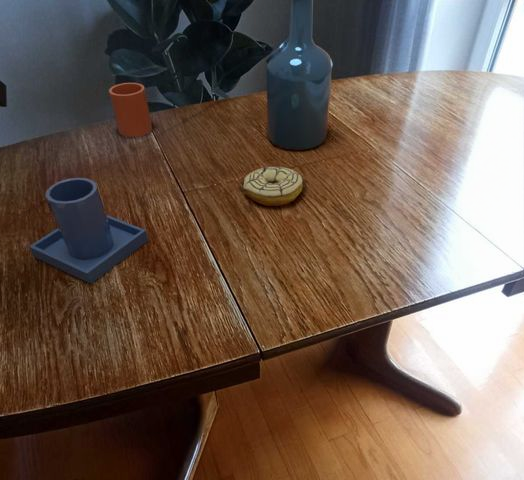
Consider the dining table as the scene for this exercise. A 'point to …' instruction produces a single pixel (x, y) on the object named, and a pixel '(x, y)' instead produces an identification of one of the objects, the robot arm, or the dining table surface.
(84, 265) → the blue tray
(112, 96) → the terracotta cup
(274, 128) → the wine bottle
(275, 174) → the decorated donut
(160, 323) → the dining table surface
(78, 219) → the blue cup
